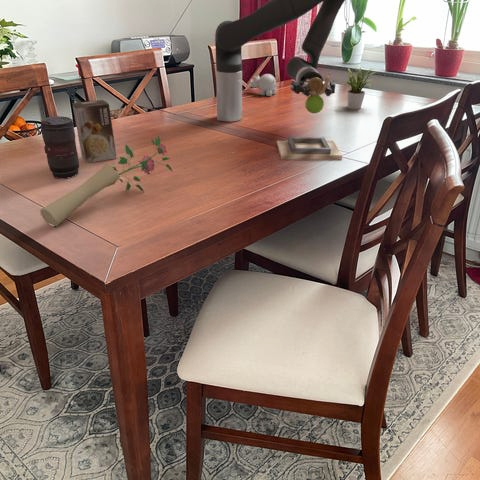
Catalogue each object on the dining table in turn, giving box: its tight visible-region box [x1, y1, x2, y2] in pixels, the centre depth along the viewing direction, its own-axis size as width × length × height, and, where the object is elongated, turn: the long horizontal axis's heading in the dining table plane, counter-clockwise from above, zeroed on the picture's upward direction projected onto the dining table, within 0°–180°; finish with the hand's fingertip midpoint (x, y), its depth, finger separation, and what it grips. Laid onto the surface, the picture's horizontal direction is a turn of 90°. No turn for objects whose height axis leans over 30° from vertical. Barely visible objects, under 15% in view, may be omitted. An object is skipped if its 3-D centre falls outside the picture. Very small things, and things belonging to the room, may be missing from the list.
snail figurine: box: [304, 71, 331, 114], centre depth 144 cm, size 5×6×12 cm
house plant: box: [343, 65, 378, 110], centre depth 193 cm, size 14×14×16 cm
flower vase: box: [40, 135, 173, 227], centre depth 117 cm, size 12×12×35 cm
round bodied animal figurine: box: [250, 73, 277, 97], centre depth 215 cm, size 8×12×9 cm, turn 54°
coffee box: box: [71, 99, 118, 164], centre depth 140 cm, size 9×6×16 cm
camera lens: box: [40, 115, 80, 179], centre depth 129 cm, size 8×8×15 cm
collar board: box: [276, 136, 343, 160], centre depth 150 cm, size 18×14×3 cm
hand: (318, 92), depth 141 cm, fingers closed on snail figurine, 5 cm apart
